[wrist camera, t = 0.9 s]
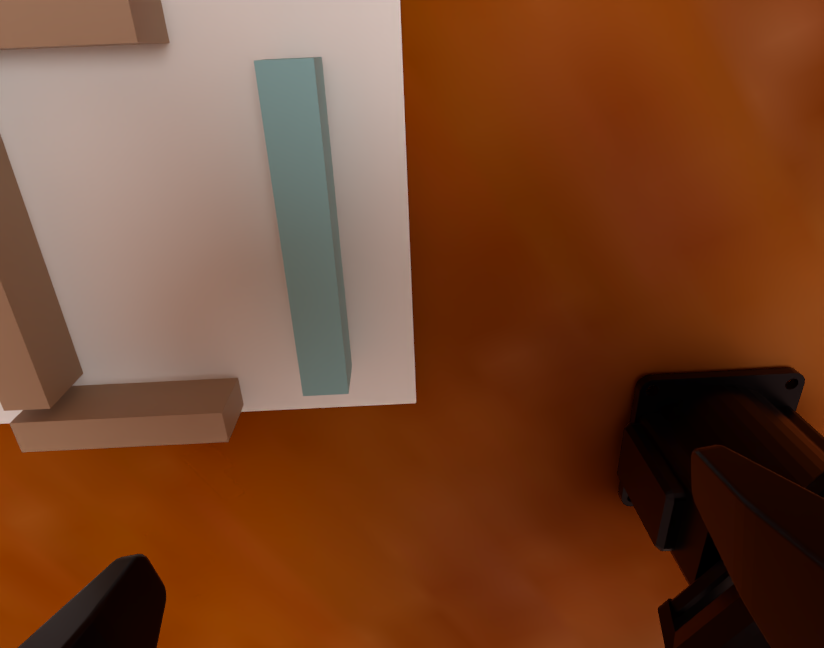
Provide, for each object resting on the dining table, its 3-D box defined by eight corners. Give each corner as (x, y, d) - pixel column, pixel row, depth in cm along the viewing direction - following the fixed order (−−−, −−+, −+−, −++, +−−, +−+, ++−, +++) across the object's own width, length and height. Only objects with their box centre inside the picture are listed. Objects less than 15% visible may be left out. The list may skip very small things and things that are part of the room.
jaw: (321, 56, 16) (313, 57, 14) (352, 366, 20) (348, 393, 18) (267, 58, 16) (253, 60, 14) (309, 367, 20) (302, 396, 18)
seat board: (398, -25, 16) (400, -41, 13) (415, 388, 22) (418, 439, 19) (-313, 3, 16) (-468, -6, 13) (-95, 413, 22) (-168, 468, 19)
